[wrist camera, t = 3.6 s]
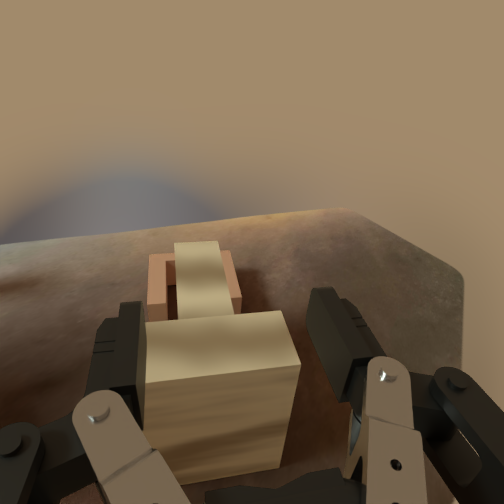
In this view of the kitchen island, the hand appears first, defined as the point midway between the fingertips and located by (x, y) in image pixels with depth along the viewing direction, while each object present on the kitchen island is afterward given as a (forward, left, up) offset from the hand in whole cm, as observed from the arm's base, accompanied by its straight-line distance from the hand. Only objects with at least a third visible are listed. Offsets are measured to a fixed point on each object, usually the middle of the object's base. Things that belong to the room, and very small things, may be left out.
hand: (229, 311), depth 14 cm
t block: (+9, +8, -22) cm, 25 cm away
